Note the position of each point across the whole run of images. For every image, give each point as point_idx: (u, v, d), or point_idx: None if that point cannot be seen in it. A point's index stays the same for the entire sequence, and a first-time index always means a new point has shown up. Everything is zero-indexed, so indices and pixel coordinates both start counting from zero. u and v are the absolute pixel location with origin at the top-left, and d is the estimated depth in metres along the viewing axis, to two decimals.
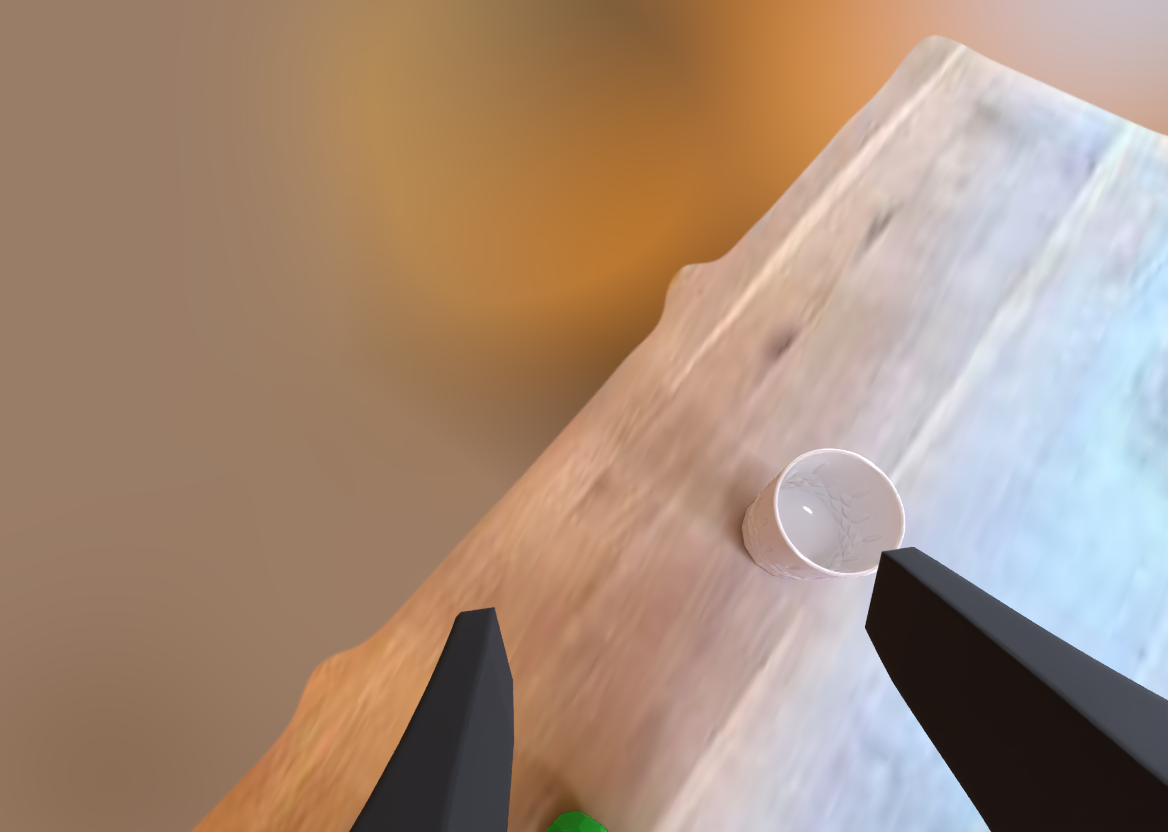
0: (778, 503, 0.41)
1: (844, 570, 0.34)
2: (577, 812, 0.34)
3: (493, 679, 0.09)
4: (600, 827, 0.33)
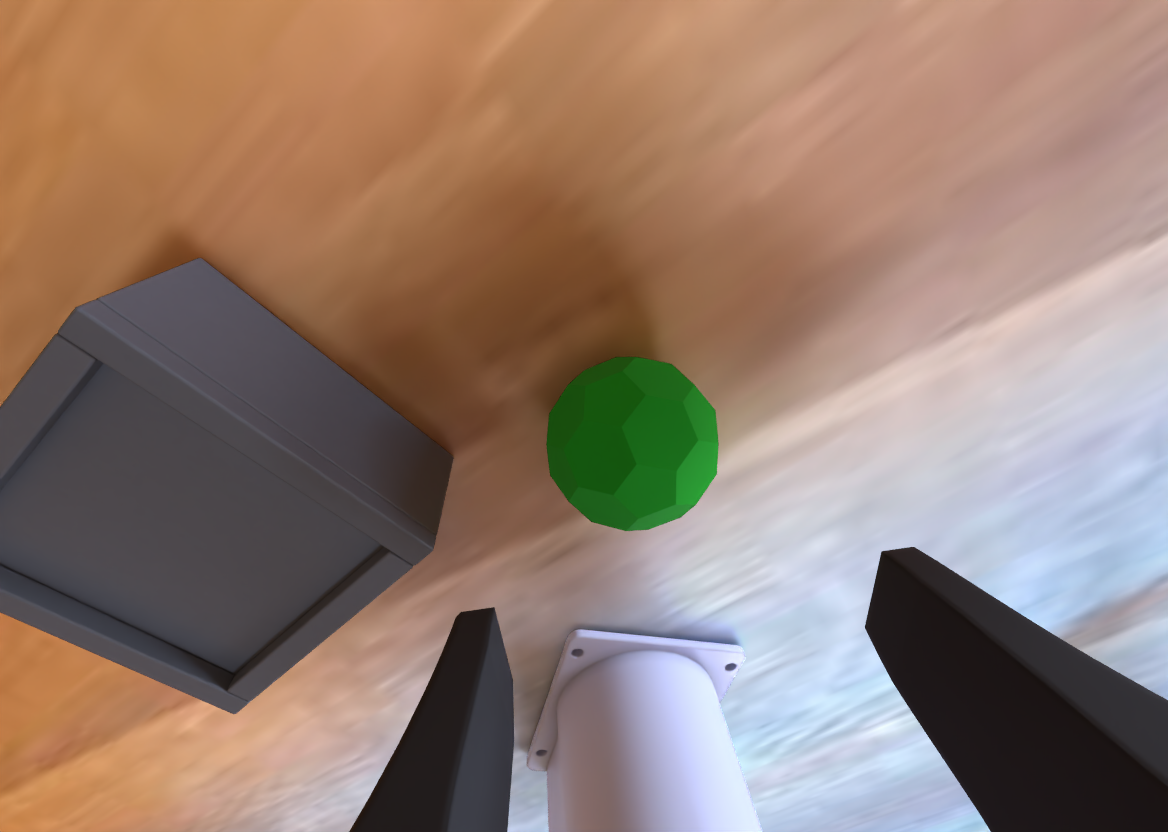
0: None
1: None
2: (671, 367, 0.15)
3: (493, 679, 0.09)
4: (714, 411, 0.15)
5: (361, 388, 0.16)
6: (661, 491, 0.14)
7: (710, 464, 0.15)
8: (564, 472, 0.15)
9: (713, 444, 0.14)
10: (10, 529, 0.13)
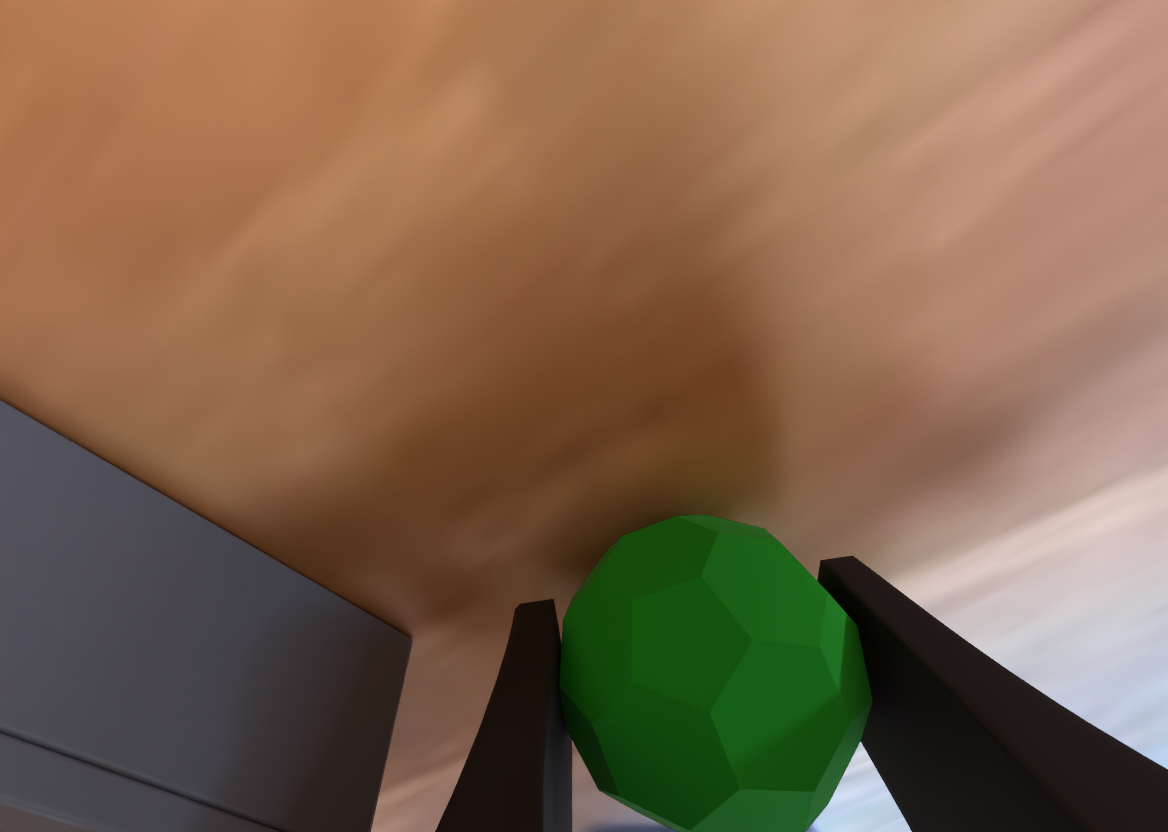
0: None
1: None
2: (780, 550, 0.08)
3: (558, 669, 0.09)
4: (855, 628, 0.08)
5: (252, 558, 0.10)
6: (780, 819, 0.07)
7: (857, 737, 0.08)
8: (592, 750, 0.08)
9: (866, 708, 0.08)
10: None
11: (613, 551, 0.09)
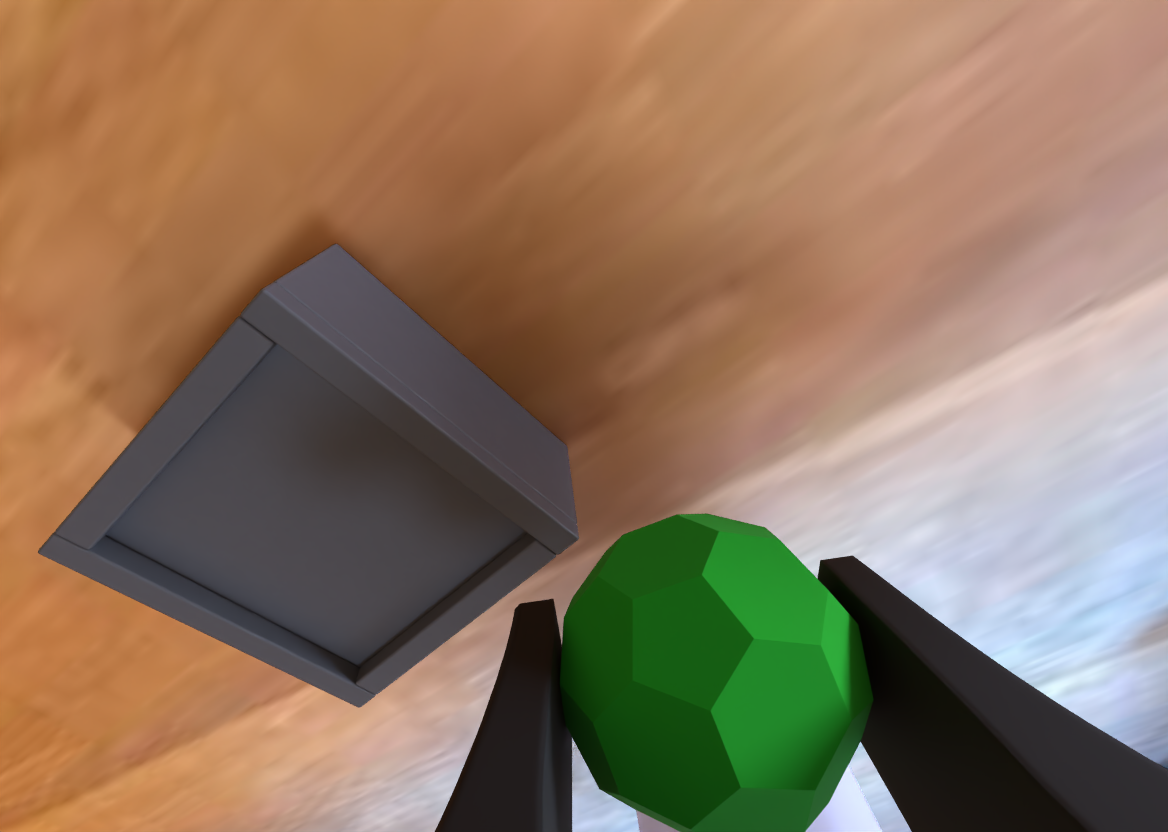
0: None
1: None
2: (780, 548, 0.08)
3: (558, 669, 0.09)
4: (856, 627, 0.08)
5: (484, 376, 0.16)
6: (781, 818, 0.07)
7: (858, 735, 0.08)
8: (592, 749, 0.08)
9: (867, 706, 0.08)
10: (158, 519, 0.13)
11: (614, 550, 0.09)
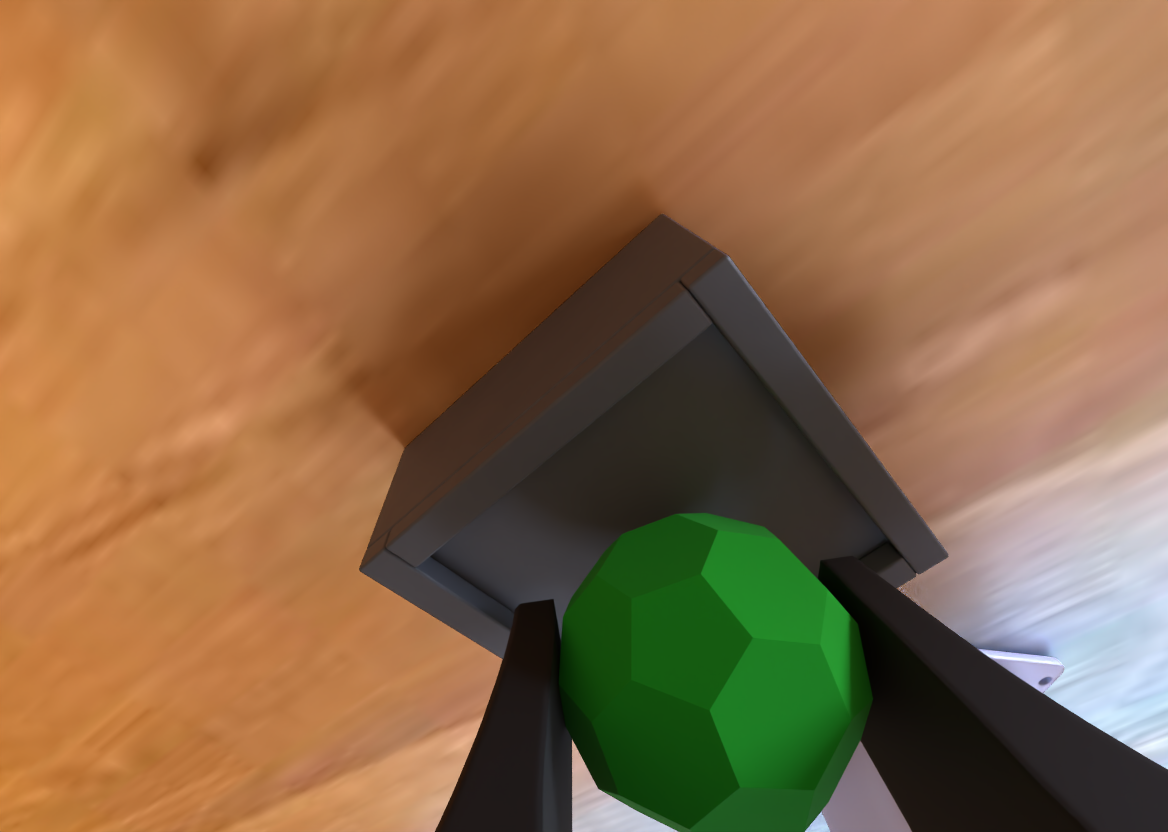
0: None
1: None
2: (780, 548, 0.08)
3: (558, 669, 0.09)
4: (856, 627, 0.08)
5: None
6: (780, 818, 0.07)
7: (857, 735, 0.08)
8: (591, 749, 0.08)
9: (867, 706, 0.08)
10: (485, 531, 0.11)
11: (613, 549, 0.09)
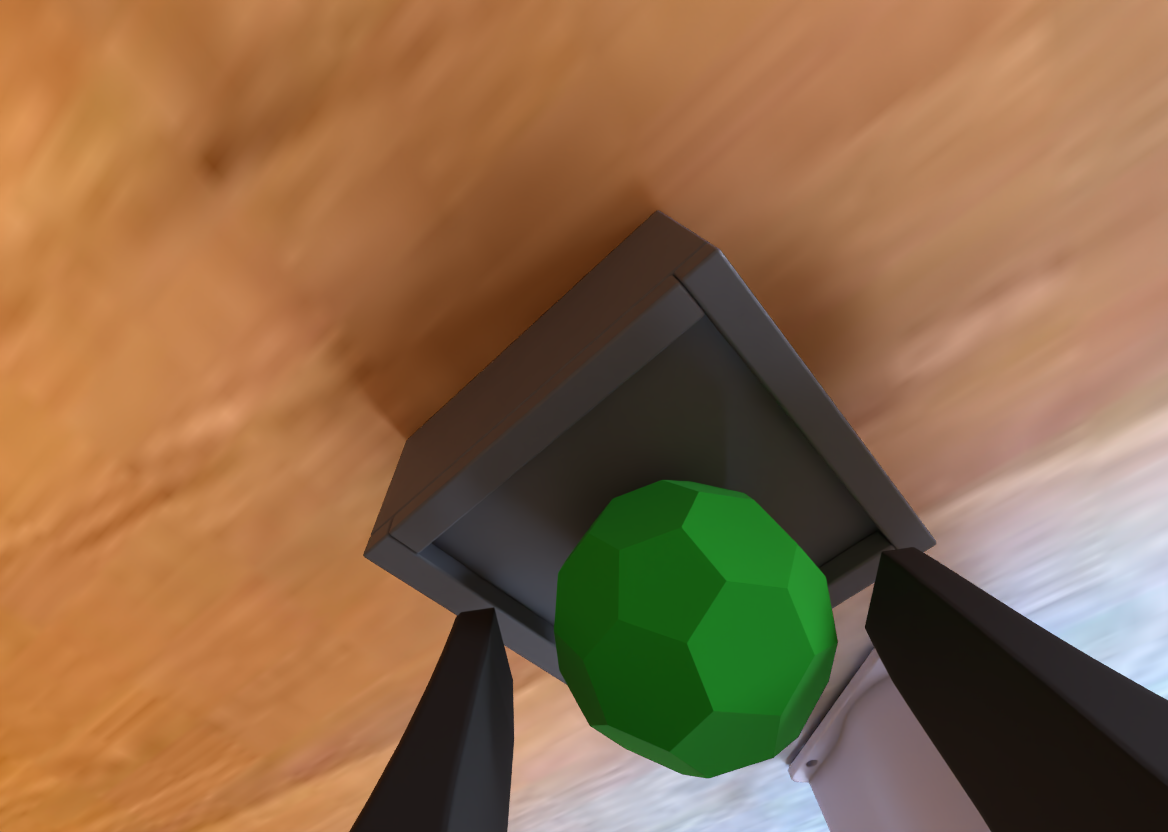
0: None
1: None
2: (755, 508, 0.09)
3: (493, 679, 0.09)
4: (824, 579, 0.09)
5: None
6: (751, 743, 0.08)
7: (823, 675, 0.09)
8: (583, 687, 0.09)
9: (831, 647, 0.09)
10: (485, 519, 0.12)
11: (604, 511, 0.10)
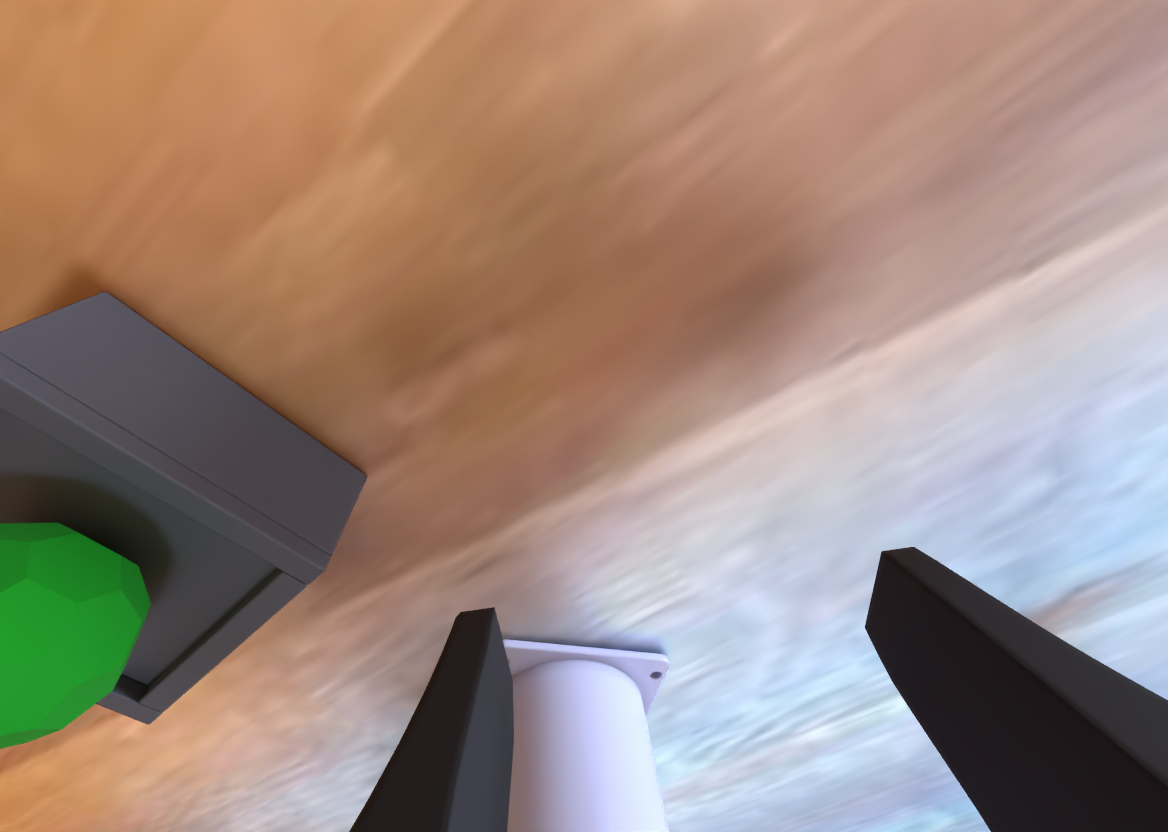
0: None
1: None
2: (21, 549, 0.12)
3: (493, 679, 0.09)
4: (74, 605, 0.12)
5: (270, 412, 0.17)
6: None
7: (43, 681, 0.11)
8: None
9: (34, 659, 0.11)
10: None
11: None
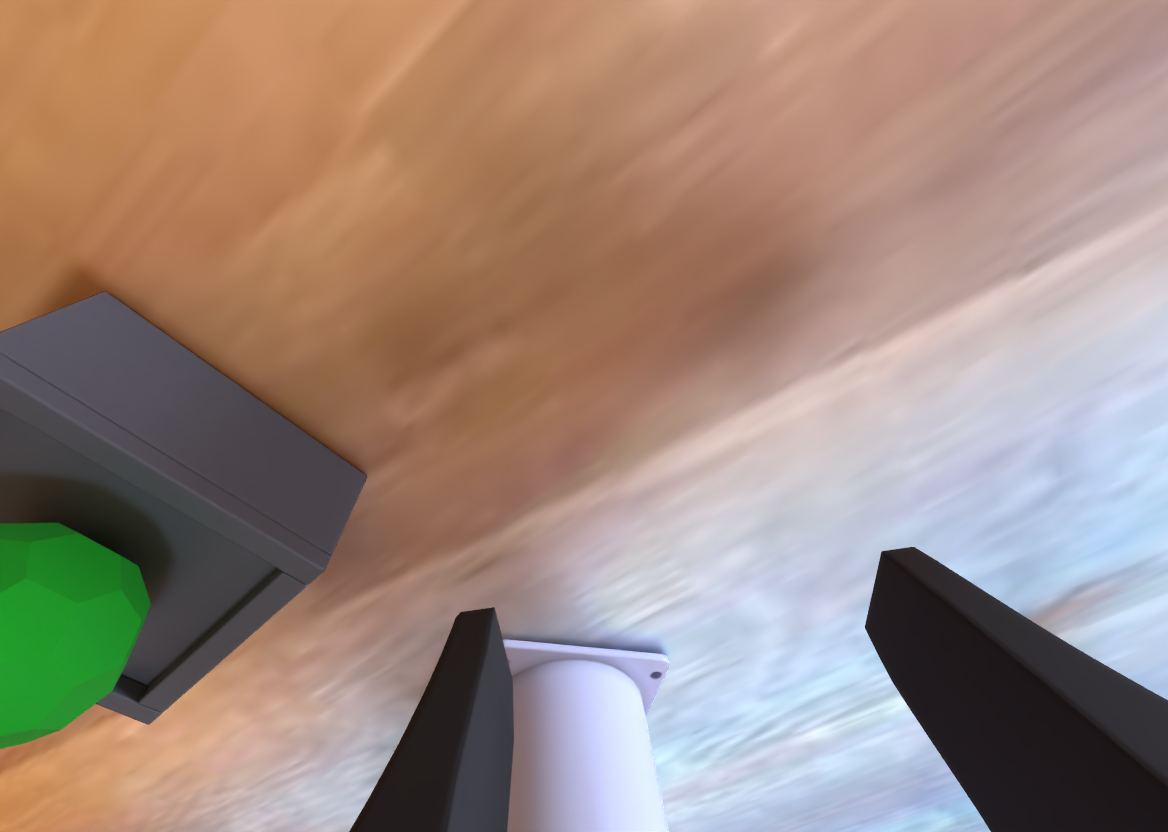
0: None
1: None
2: (21, 549, 0.12)
3: (493, 679, 0.09)
4: (74, 605, 0.12)
5: (270, 412, 0.17)
6: None
7: (43, 681, 0.11)
8: None
9: (34, 659, 0.11)
10: None
11: None
